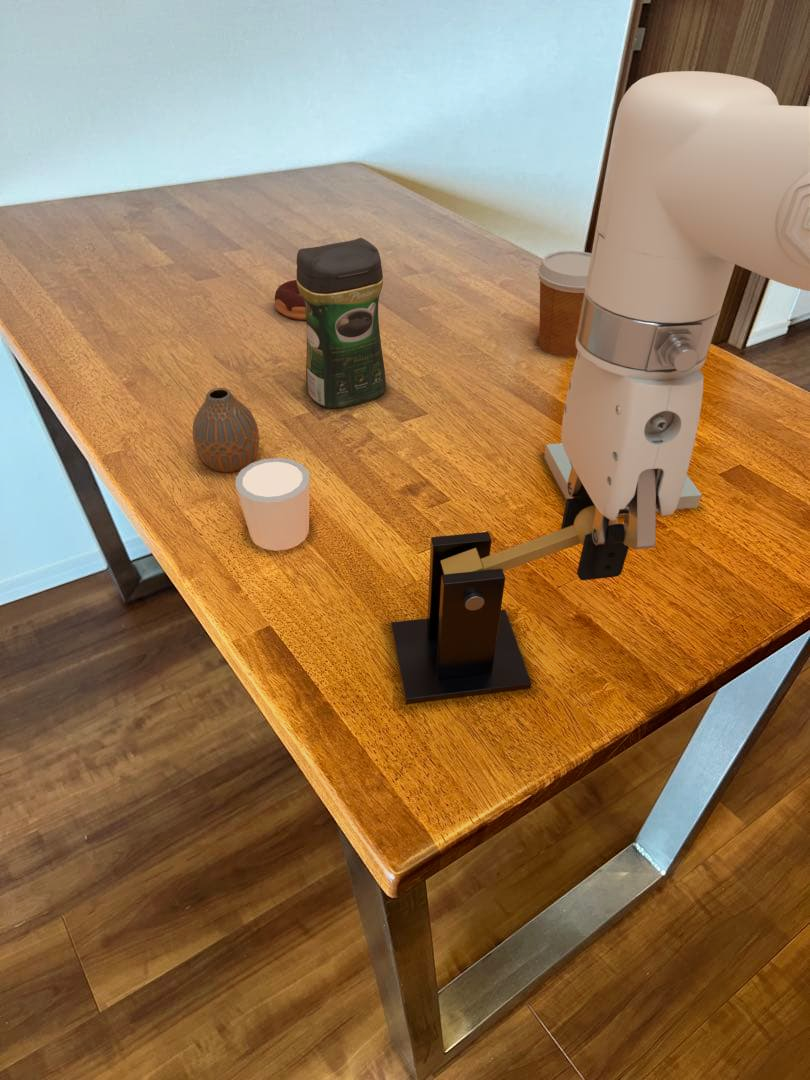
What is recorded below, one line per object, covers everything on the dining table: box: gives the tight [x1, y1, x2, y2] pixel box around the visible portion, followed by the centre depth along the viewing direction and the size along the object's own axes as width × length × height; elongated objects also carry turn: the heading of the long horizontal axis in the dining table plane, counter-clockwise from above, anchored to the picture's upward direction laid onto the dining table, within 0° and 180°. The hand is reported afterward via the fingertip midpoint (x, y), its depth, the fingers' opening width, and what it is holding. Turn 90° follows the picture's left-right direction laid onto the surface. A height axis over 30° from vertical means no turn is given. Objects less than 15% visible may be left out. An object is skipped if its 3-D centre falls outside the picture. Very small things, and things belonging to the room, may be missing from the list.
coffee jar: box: [295, 237, 387, 410], centre depth 86 cm, size 10×8×19 cm
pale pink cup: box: [235, 457, 311, 552], centre depth 70 cm, size 7×7×7 cm
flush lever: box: [441, 505, 620, 574], centre depth 53 cm, size 13×3×3 cm, turn 99°
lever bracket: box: [390, 531, 532, 705], centre depth 56 cm, size 10×8×12 cm
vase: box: [192, 387, 260, 473], centre depth 78 cm, size 7×7×9 cm
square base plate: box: [543, 442, 703, 516], centre depth 77 cm, size 13×11×4 cm
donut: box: [274, 279, 306, 321], centre depth 109 cm, size 10×10×4 cm
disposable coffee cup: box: [537, 250, 592, 357], centre depth 98 cm, size 10×10×12 cm
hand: (589, 555), depth 54 cm, fingers closed on flush lever, 3 cm apart
